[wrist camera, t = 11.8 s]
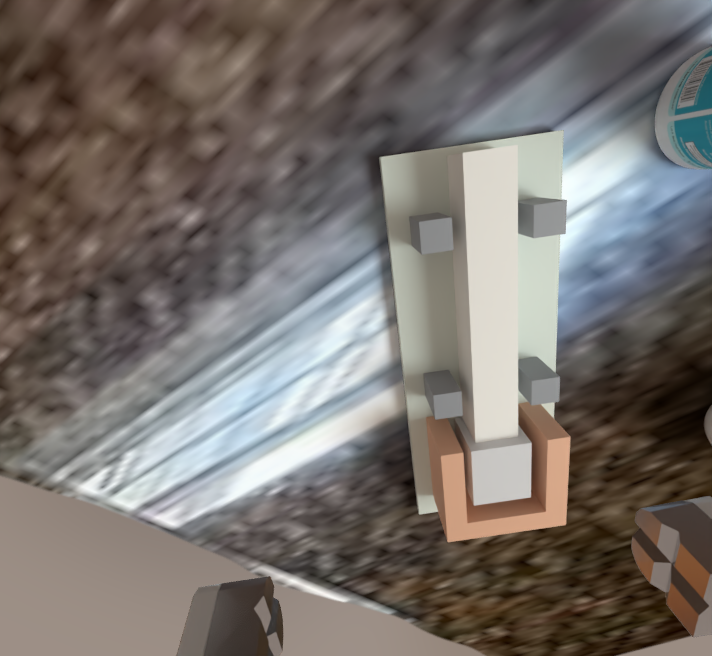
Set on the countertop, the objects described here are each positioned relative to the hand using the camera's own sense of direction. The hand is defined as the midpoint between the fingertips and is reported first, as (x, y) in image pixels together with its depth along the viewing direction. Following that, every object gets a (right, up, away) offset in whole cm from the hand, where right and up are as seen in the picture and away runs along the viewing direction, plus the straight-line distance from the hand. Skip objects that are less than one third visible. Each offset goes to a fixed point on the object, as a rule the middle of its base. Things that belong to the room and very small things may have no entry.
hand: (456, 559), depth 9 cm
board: (+7, +3, +24) cm, 25 cm away
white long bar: (+7, +5, +22) cm, 24 cm away
